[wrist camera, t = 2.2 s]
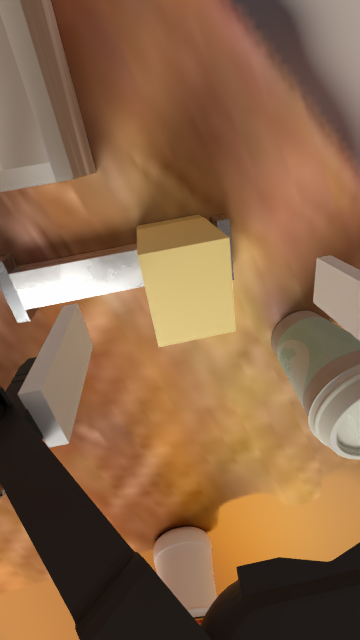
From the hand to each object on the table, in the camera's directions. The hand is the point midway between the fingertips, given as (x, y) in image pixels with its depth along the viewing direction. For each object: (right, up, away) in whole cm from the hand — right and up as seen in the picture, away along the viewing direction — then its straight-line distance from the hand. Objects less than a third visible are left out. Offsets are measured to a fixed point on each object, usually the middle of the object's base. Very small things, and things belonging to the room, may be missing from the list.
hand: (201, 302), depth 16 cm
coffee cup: (+11, -2, +15) cm, 19 cm away
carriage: (-2, +5, +9) cm, 10 cm away
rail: (-6, +4, +8) cm, 11 cm away
